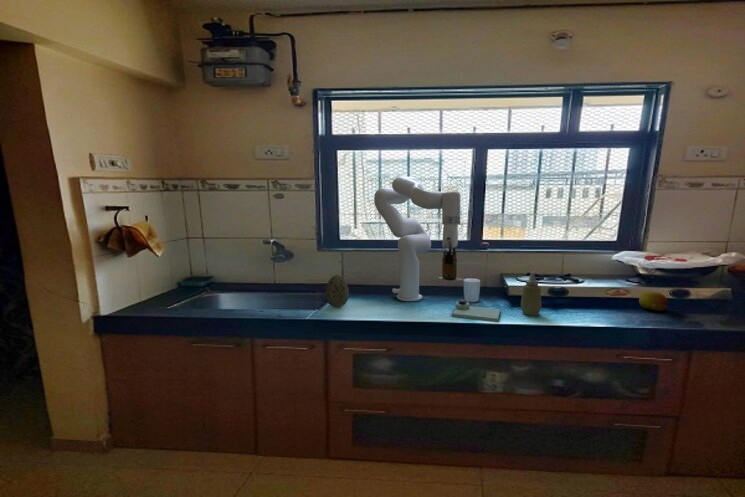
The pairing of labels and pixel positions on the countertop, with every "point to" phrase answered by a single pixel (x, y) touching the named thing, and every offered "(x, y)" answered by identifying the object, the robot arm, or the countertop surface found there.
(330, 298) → the decorative egg
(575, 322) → the countertop surface
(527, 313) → the squeeze bottle
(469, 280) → the white cup
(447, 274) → the condiment
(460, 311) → the scale
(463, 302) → the tare button
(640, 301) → the fruit
